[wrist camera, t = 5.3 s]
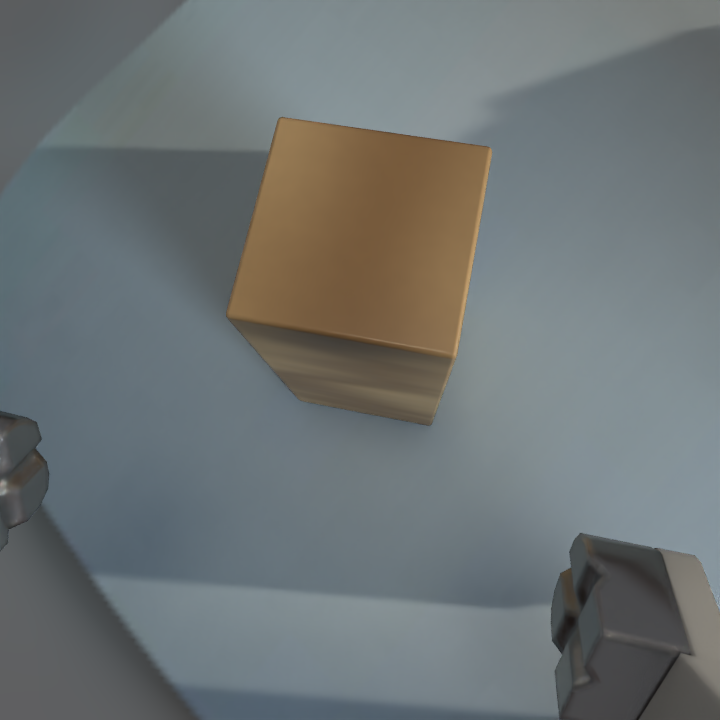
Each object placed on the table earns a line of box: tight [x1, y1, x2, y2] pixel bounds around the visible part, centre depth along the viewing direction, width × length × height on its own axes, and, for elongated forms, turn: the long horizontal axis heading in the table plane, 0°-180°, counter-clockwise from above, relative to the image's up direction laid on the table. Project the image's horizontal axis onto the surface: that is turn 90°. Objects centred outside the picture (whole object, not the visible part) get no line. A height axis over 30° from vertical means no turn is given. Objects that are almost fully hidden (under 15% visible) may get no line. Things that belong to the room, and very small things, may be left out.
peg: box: [226, 117, 492, 426], centre depth 15 cm, size 4×4×8 cm
